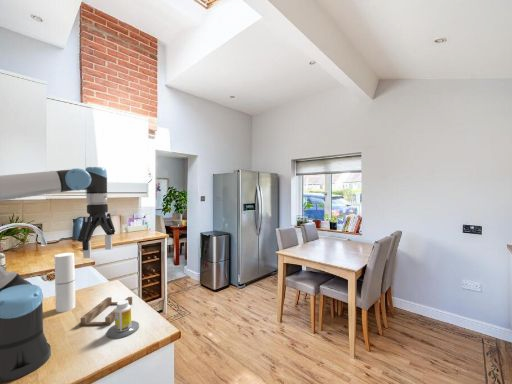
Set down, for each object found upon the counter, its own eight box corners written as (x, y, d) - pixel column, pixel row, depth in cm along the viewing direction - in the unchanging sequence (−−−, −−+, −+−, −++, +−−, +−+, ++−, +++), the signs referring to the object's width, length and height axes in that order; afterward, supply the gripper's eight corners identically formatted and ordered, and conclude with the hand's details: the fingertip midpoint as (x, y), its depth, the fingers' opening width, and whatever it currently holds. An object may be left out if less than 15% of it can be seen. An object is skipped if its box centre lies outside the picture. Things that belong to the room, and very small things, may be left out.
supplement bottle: (133, 323, 99) (133, 298, 98) (127, 331, 93) (127, 305, 93) (119, 324, 98) (118, 299, 98) (112, 333, 93) (111, 306, 92)
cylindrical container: (52, 313, 109) (51, 257, 109) (60, 305, 116) (59, 253, 116) (71, 310, 111) (69, 255, 111) (78, 303, 118) (76, 252, 118)
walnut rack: (109, 325, 99) (109, 317, 99) (80, 326, 99) (80, 318, 99) (132, 303, 118) (132, 296, 118) (107, 303, 118) (107, 297, 117)
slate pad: (130, 338, 90) (130, 336, 90) (100, 338, 90) (100, 337, 90) (143, 321, 101) (143, 320, 101) (116, 322, 101) (116, 321, 101)
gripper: (84, 205, 92) (86, 262, 92) (122, 201, 117) (123, 246, 117) (65, 206, 92) (66, 262, 93) (107, 202, 117) (108, 246, 118)
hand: (98, 253), depth 105 cm, fingers open, 13 cm apart
